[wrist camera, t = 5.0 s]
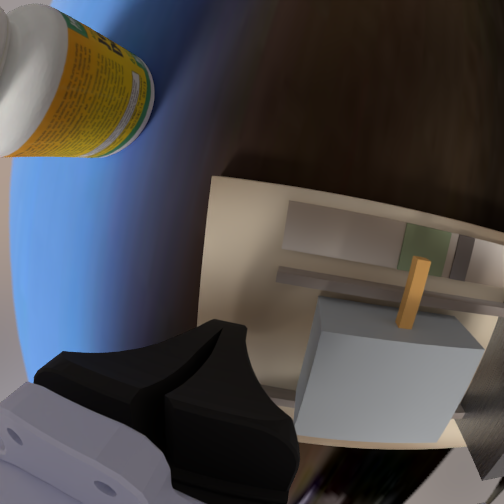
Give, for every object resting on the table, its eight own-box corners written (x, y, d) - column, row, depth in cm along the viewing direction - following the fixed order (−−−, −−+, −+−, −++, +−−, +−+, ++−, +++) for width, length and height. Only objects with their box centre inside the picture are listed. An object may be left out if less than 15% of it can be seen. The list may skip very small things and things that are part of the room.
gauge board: (460, 434, 14) (470, 455, 12) (198, 406, 16) (186, 429, 14) (538, 243, 11) (561, 252, 9) (219, 176, 13) (205, 175, 11)
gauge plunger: (419, 400, 12) (436, 442, 9) (296, 387, 13) (292, 434, 10) (470, 260, 11) (508, 283, 8) (330, 233, 11) (339, 251, 9)
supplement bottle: (58, 144, 14) (-100, 144, 5) (91, 49, 13) (-52, -7, 3) (135, 172, 14) (-54, 185, 4) (177, 62, 12) (25, -41, 3)
